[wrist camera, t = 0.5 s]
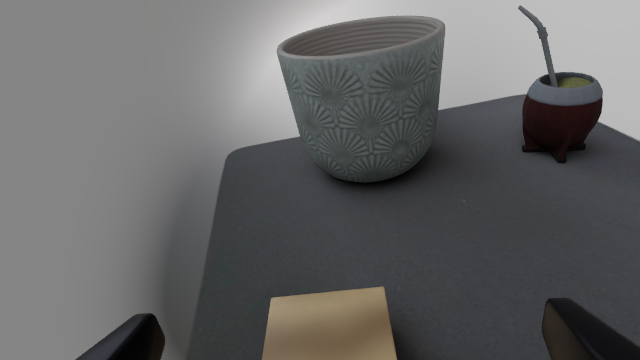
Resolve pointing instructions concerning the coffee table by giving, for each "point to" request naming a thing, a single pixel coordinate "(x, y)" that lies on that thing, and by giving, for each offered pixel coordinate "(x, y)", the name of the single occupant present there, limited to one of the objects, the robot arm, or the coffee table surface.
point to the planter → (366, 93)
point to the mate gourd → (559, 107)
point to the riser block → (330, 327)
